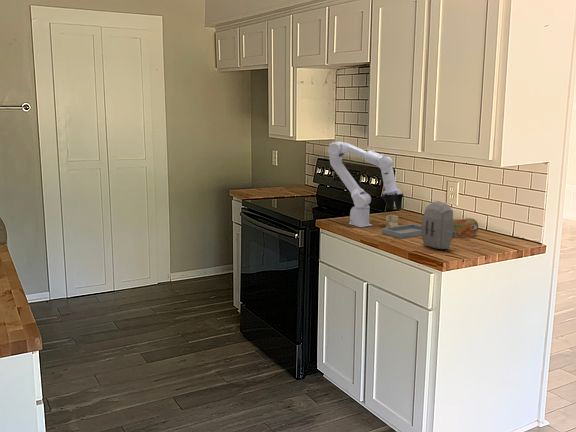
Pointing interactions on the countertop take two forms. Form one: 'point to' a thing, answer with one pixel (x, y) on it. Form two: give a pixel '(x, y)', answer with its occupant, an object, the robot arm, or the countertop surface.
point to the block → (391, 221)
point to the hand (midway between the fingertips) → (395, 209)
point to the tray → (403, 231)
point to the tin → (464, 227)
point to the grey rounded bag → (437, 225)
